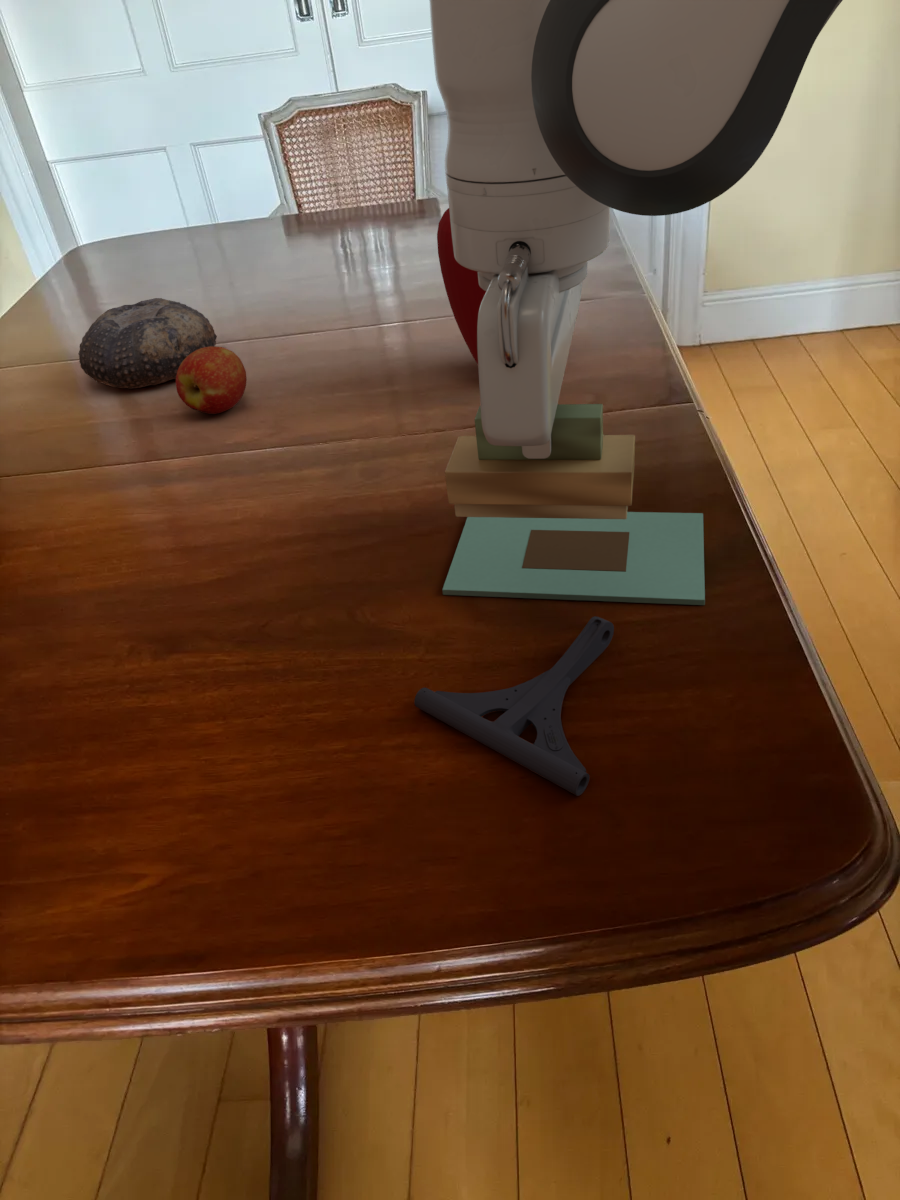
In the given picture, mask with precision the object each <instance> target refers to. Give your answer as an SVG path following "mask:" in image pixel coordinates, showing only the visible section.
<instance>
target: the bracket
mask: <svg viewBox="0 0 900 1200" xmlns="http://www.w3.org/2000/svg"><path fill="white" fill-rule="evenodd" d="M614 632H615V626H614V624H613V622H611V621H610V620H607V619H605V618H602V617H599V616H591V617H590V619H589V620H588V622H587V623H586V624H585V626H584V628H583V629H582V630H581V631H580V633H578V636H577V637H576V638H575V639H574V640H573V642H572V643H571V644H570V645H569V647H568V648H567V650H566V651H565V652H564V653H563V655H562V656H561V657H560V658H559V659H558V660H557V662H556V663H555V664H554V665H553V666H552V667H551V668H550V669H548V670H545V671H544V672H543V673H541V674H539V675H537V676H534V677H533V678H532V679H529V680H527V681H525V682H522V683H519V684H516V685H514V686H512V687H508V688H502V689H497V690H492V691H483V692H451V691H444V690H436V691H434V690H432V689H430V688H428V687H422V688H420V689H419V690H418V691H417V693H416V694H415V697H414V700H413V701H414V702H413V703H414V706H415V707H416V708H417V709H419V710H421V711H423V712H425V713H426V714H428V715H431V716H432V717H434V718H436V719H437V720H439V721H441V722H443V723H445V724H446V725H448V726H450V727H451V728H454V729H455V730H457V731H459V732H460V733H463V734H464V735H466V736H468V737H470V738H472V739H474V741H475V740H476V741H477V742H479V743H481V744H483V745H484V746H486V747H488V748H489V749H491V750H493V751H495V752H496V753H498V754H500V755H502V756H504V757H506V758H508V759H509V760H511V761H512V762H513V761H514V762H515V763H517V764H519V765H520V766H522V767H524V768H526V769H528V770H530V771H531V772H533V773H535V774H536V775H538V776H540V777H542V778H544V779H546V780H548V781H549V782H551V783H553V784H554V785H556V786H558V787H560V788H562V789H563V790H565V791H568V792H569V793H570V794H573V795H575V796H577V797H579V796H581V795H582V794H583V793H584V792H585V791H586V789H587V787H588V785H589V782H590V779H591V778H590V777H591V776H590V774H589V773H588V772H587V769H586V767H585V766H584V765H583V763H582V762H581V761H580V759H579V758H578V757H577V756H576V754H575V753H574V751H573V750H572V748H571V746H570V744H569V741H568V740H567V738H566V734H565V732H564V728H563V723H562V717H561V714H562V709H563V708H562V707H563V702H564V699H565V695H566V693H567V691H568V688H569V686H571V685H572V684H573V683H574V682H575V681H576V680H577V679H578V677H580V676H581V674H583V672H584V671H585V670H587V669H588V668H589V667H590V666H591V664H592V663H594V662H595V661H596V660H597V659H598V657H600V656H601V655H602V654H603V653H604V652H605V650H606V649H607V648H608V647H609V645H610V643H611V641H612V640H613V637H614ZM494 712H495V713H496V712H504V713H502V714H501V715H500V716H498V717H497V718H496V719H495V720H494V721H491V720H489V719H487V718H485V717H483V716H485V715H488V714H490V713H494ZM531 725H532V726H533V728H534V729H535V731H536V738H535V741H534V742H533V743H531V742H529V741H528V740H526V739H524V738H522V737H521V736H520V735H521V734H522V733H524V731H526V730H527V729H528V728H529V727H530V726H531Z"/></svg>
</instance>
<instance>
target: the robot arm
mask: <svg viewBox="0 0 900 1200" xmlns="http://www.w3.org/2000/svg"><path fill="white" fill-rule="evenodd" d="M843 1H844V0H429V14H430V16H429V17H430V32H431V44H432V45H431V46H432V56H433V65H434V66H433V67H434V76H435V82H436V86H437V88H438V92H439V93H440V96H441V99H442V102H443V105H444V108H445V109H444V110H445V113H446V119H447V143H446V150H445V156H444V173H445V182H446V190H447V199H448V200H447V201H448V208H449V211H450V222H451V231H452V241H453V250H454V257H455V259H456V261H457V262H458V263H459V264H460V265H462V266H463V267H465V268H468V269H471V270H474V271H478V282H479V286H480V287H481V288H482V289H483V290H485V291H486V293H485V295H484V298H483V300H482V302H481V305H480V308H479V313H478V325H477V350H478V365H477V369H478V383H479V384H478V386H479V387H478V388H479V389H478V390H479V403H480V405H479V406H481V420H482V428H483V432H484V435H485V437H486V439H487V441H488V443H490V444H491V445H496V446H522V453H523V455H524V457H526V458H528V459H545V458H548V457H549V456H550V454H551V449H552V444H553V437H552V427H553V423H554V418H555V414H556V409H557V405H558V404H559V399H560V394H561V390H562V386H563V381H564V376H565V372H566V368H567V365H568V359H569V355H570V351H571V345H572V341H573V336H574V332H575V327H576V322H577V319H578V315H579V311H580V305H581V298H582V290H583V283H584V281H585V280H586V278H587V277H588V275H589V273H588V272H589V271H588V270H589V269H588V261H592V260H593V259H595V258H597V257H598V256H600V255H602V254H603V253H604V252H605V251H606V250H607V249H608V247H609V245H610V240H611V239H610V238H611V219H610V217H611V209H613V210H615V211H619V212H622V213H626V214H631V215H637V216H645V217H646V216H647V217H658V216H670V215H675V214H681V213H684V212H688V211H691V210H694V209H696V208H699V207H701V206H704V205H705V204H707V203H710V202H712V201H713V200H715V199H717V198H718V197H720V196H722V195H723V194H724V193H725V192H727V191H729V190H730V189H731V188H732V187H734V186H735V185H736V184H737V183H738V182H739V181H741V179H743V178H744V177H745V176H746V175H747V173H748V172H749V171H750V170H751V169H752V168H753V167H754V166H755V164H756V163H757V161H758V160H759V159H760V157H761V156H762V155H763V153H764V152H765V150H766V149H767V147H768V145H769V144H770V142H771V140H772V138H773V137H774V136H775V133H776V131H777V129H778V127H779V125H780V123H781V121H782V119H783V116H784V114H785V112H786V110H787V107H788V106H789V103H790V100H791V98H792V95H793V93H794V90H795V89H796V85H797V83H798V81H799V79H800V76H801V74H802V71H803V69H804V66H805V64H806V62H807V60H808V57H809V54H810V53H811V50H812V48H813V46H814V44H815V43H816V40H817V39H818V37H819V35H820V33H821V32H822V30H823V29H824V28H825V26H826V24H827V23H828V22H829V20H830V19H831V18H832V16H833V14H834V12H835V11H836V10H837V8H838V7H839V6H840V5H841V3H842V2H843Z"/></svg>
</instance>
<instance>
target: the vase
mask: <svg viewBox="0 0 900 1200" xmlns="http://www.w3.org/2000/svg"><path fill="white" fill-rule="evenodd" d="M436 240H437V243H436V244H437V256H438V260H439V267H440V272H441V276H442V281H443V284H444V288H445V292H446V296H447V299H448V302H449V305H450V309H451V313H452V315H453V317H454V321H455V323H456V325H457V327H458V330H459V332H460V334H461V336H462V338H463V340H464V342H465V344H466V346H467V348H468V350H469V353H470V354H471V356H472V357H473V360H474V361H475V363H476V365H477V366H478V350H477V325H478V313H479V308H480V305H481V302H482V300H483V298H484V295H485V293H486V291H485V290H483V289H482V288H481V287H480V286H479V282H478V271H474V270H471V269H468V268H465V267H463V266H462V265H460V264H459V263H458V262H457V261H456V259H455V257H454V250H453V241H452V231H451V222H450V211H449V207H448V208H447V209H446V210H445V211H444V212H443V214H442V216H441V218H440V220H439V222H438V225H437V233H436Z"/></svg>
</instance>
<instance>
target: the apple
mask: <svg viewBox="0 0 900 1200" xmlns="http://www.w3.org/2000/svg"><path fill="white" fill-rule="evenodd" d="M247 380H248V379H247V371H246V368H245V365H244V364H243V361H242V360H241V358H240V357H239V355H237V354H236V352H234V351H232V350H230V349H228V348H225V347H222V346H214V347H213V346H210V347H204V348H200V349H198V350H196V351H194V352H192V353H191V354H190V355H188V356H187V357H186V358H185V359H184V360H183V362H182V363H181V365H180V366H179V368H178V371H177V375H176V379H175V387H176V392H177V394H178V397H179V399H180V400H181V401H182V403H183V404H185V406H187V407H188V408H190V409H192V410H194V411H197V412H200V413H203V414H207V415H208V414H209V415H215V414H221V413H224V412H227V411H229V410H230V409H232V408H233V407H234V406H236V405H237V404H238V403H239V402H240V401H241V399H242V397H243V395H244V393H245V391H246V388H247V382H248V381H247Z"/></svg>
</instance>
